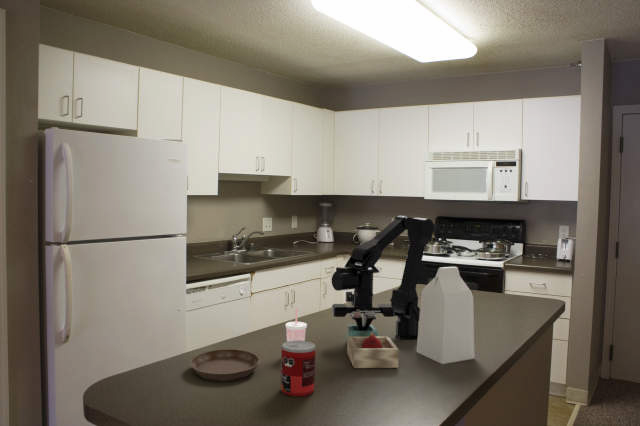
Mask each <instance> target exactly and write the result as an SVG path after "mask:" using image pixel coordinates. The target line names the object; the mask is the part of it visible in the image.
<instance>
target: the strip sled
mask: <svg viewBox="0 0 640 426" xmlns="http://www.w3.org/2000/svg"><path fill="white" fill-rule="evenodd" d="M362 326H363V324H362ZM346 330H347V332H346V333H347V335H346V336H347V337H346V341H347V343H346V344H347V345H346V354H347V356H348V358H349V361H350V363H351V364H352V367H353V368H354V369H381V368H382V369H385V368H386V369H387V368H388V369H392V368H395V369H396V368H399V353H400V352H399V351H400V350H399V348H398V347H397V345H396V344H395V343H394V342H393V341H392V339H391V338H390V337H389V336H386V335H385V336H379V332H378V330H377V329H376V328H375V326H374V325H373V324H370V325H369V327H368V329H367V331H359V330H358V327H357V324H348V325H347V329H346ZM371 333H374V334H375V337H376V338H378V339H379V340H380V342H381V344H382V348H362V344H363V342H364V340H365V339H366V338H368V337H369V336H370V335H371Z"/></svg>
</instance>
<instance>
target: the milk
mask: <svg viewBox="0 0 640 426" xmlns="http://www.w3.org/2000/svg"><path fill="white" fill-rule="evenodd" d="M467 285H468V284H467V283H466V282H465V281H464V280H463V278H462V276H461V275H460V271H459V267H457V266H443V267H438V269H437V272H436V274H435V277H433V279H432V280H431V281H429V282H428V283H427V284H426V285H425V286H424V287H423V289H422V290H421V296H420V305H419V306H420V307H419V308H420V316H419V324H418V339H416V340H417V341H416V351H415V352H416V353H417V354H420V355H422V356H424V357H426V358H429V359H431V360H433V361H435V362H437V363H439V364H441V365H445V364H450V363H456V362H461V361H468V360H473V359H475V326H474V325H475V319H474V318H475V317H474V312H475V311H474V295H473V293H472V291H471V289H470V288H469V286H467Z"/></svg>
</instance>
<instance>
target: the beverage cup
mask: <svg viewBox="0 0 640 426" xmlns="http://www.w3.org/2000/svg"><path fill="white" fill-rule="evenodd" d="M284 325H285V328H286V329H285V330H286V342H288V341H306V329H307V328H308V324H307V323H306V322H302V321H298V306H295V319H294V321H287V323H285V324H284Z"/></svg>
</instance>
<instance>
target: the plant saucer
mask: <svg viewBox="0 0 640 426" xmlns="http://www.w3.org/2000/svg"><path fill="white" fill-rule="evenodd" d="M259 363H260V357H259V356H258V355H257V354H256V353H253V352H252V351H251V352H250V351H248V350H241V349H232V348H231V349H230V348H228V349H215V350H210V351H206V352H203V353H200V354H197V355H196V356H194V357H192V358H191V360H190V366H191V368H192V369H193V371H194V372H195V373H196V374H197V375H198V376H199V377H201V378H203V379H206V380H210V381H217V382H218V381H219V382H223V381H224V382H227V380H228V381H235V379H236V380H239V379H243V378H245V377H248V376H249V375H251V374H252V373H253V372H254V371H255V370H256V369H257V367H258V365H259Z"/></svg>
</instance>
